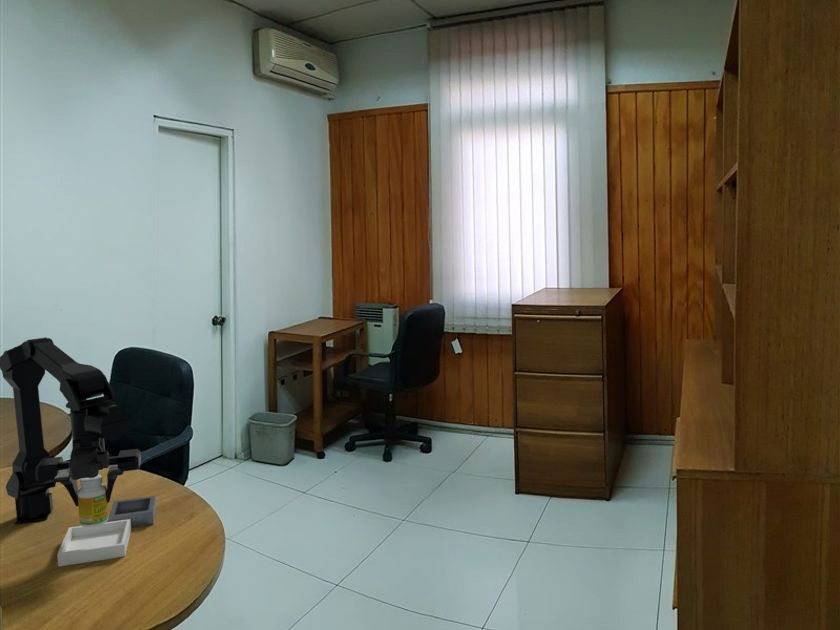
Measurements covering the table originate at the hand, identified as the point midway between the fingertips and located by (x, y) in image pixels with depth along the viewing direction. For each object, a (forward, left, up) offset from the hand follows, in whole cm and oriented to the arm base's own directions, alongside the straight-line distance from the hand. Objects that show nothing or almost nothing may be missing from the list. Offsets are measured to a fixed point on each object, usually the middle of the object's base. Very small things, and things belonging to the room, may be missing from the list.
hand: (93, 503), depth 131 cm
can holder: (+6, +12, -10) cm, 16 cm away
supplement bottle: (0, 0, -4) cm, 4 cm away
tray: (0, 0, -10) cm, 10 cm away
